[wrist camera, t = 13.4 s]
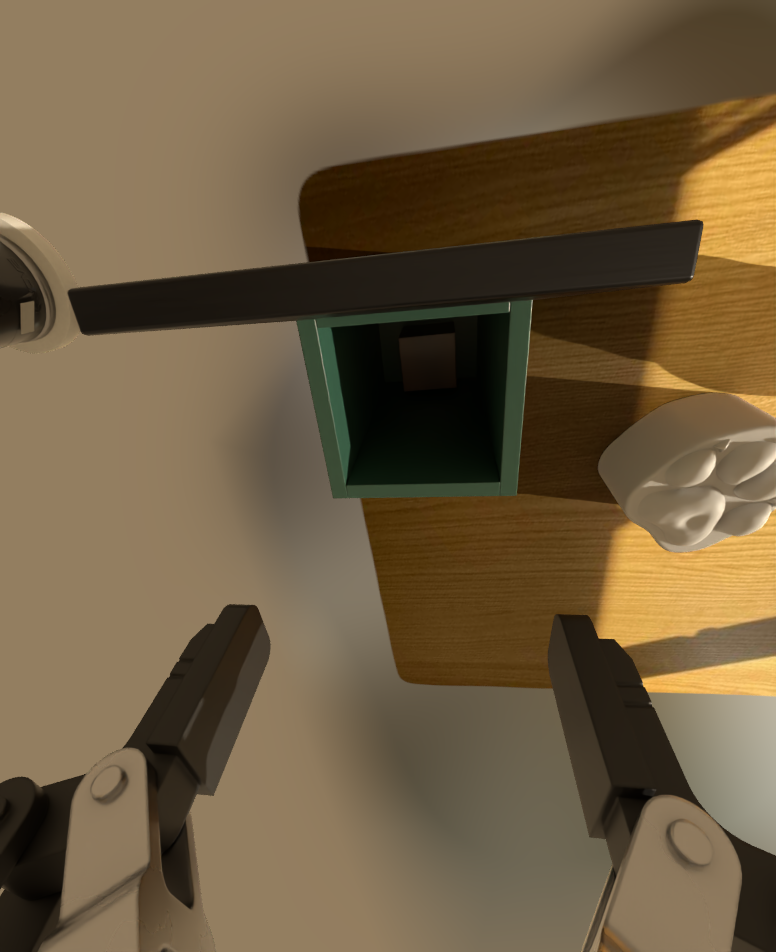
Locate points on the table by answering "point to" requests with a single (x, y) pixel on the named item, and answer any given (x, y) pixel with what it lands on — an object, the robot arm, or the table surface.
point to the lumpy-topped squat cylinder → (695, 470)
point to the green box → (420, 403)
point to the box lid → (399, 281)
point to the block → (428, 356)
